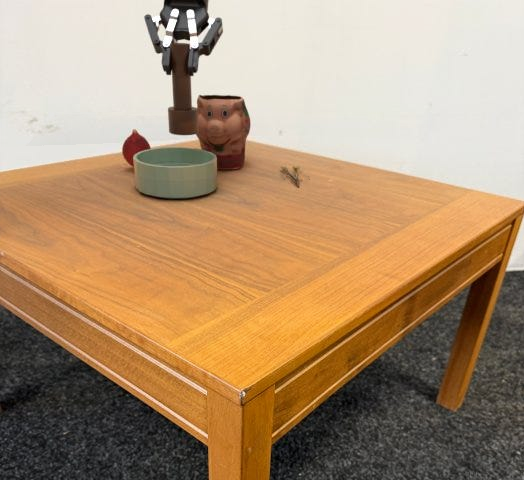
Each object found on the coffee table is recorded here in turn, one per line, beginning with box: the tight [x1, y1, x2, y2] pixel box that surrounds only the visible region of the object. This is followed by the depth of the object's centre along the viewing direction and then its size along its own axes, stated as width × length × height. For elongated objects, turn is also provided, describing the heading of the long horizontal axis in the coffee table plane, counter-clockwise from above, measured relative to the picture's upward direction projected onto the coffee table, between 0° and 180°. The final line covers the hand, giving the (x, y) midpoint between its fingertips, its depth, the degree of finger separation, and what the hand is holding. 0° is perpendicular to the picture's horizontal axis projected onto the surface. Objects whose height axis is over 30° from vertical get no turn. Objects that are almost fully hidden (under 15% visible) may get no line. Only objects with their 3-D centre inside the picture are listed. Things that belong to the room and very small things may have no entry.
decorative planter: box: [195, 94, 251, 170], centre depth 118 cm, size 20×12×14 cm, turn 3°
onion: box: [121, 128, 152, 168], centre depth 113 cm, size 6×6×8 cm
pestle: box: [167, 42, 198, 136], centre depth 95 cm, size 5×5×14 cm
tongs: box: [280, 165, 301, 188], centre depth 113 cm, size 4×13×2 cm, turn 10°
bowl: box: [133, 146, 218, 200], centre depth 103 cm, size 15×15×6 cm
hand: (179, 71), depth 92 cm, fingers closed on pestle, 3 cm apart
